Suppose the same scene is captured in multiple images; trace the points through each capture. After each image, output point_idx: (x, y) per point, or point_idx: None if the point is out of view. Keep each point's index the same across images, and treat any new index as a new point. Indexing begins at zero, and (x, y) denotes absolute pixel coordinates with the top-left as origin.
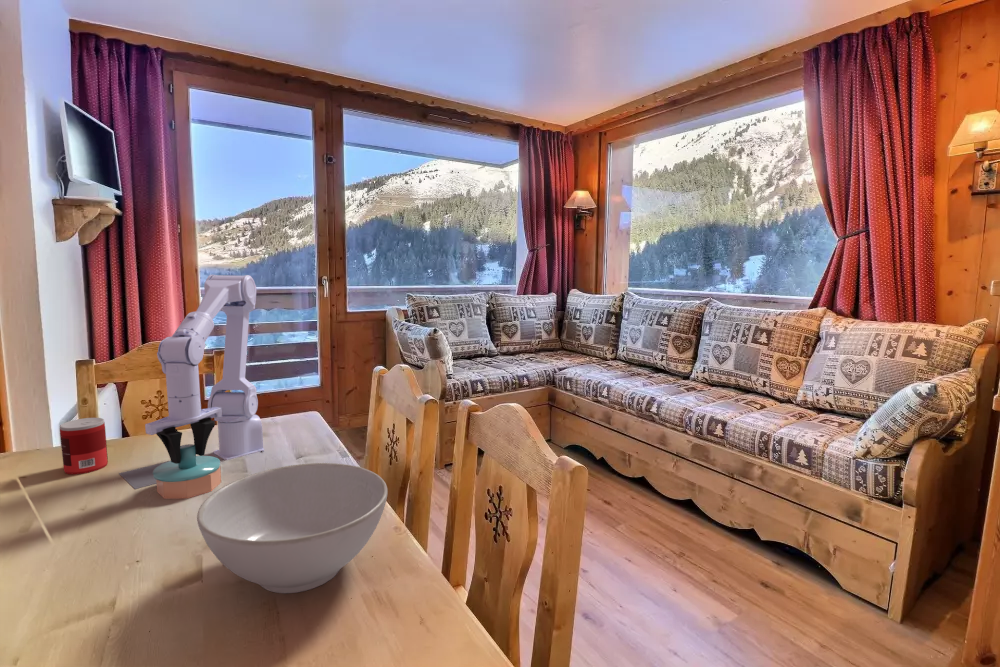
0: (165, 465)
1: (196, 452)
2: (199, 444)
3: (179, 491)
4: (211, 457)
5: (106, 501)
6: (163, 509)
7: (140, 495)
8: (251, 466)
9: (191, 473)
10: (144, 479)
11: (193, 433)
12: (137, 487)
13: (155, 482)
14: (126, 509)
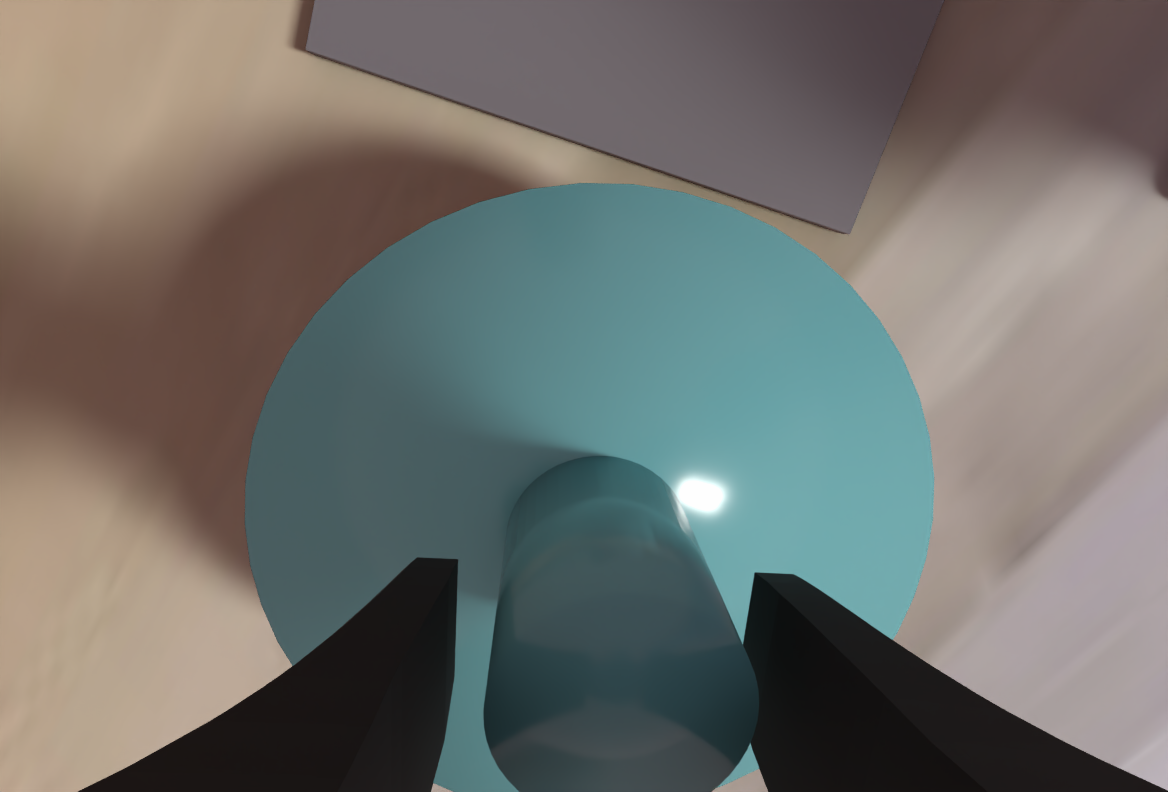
0: (492, 286)
1: (760, 608)
2: (806, 771)
3: None
4: (905, 534)
5: (41, 40)
6: (256, 614)
7: (289, 207)
8: (1122, 504)
9: (484, 740)
10: None
11: (940, 777)
12: (337, 35)
13: (501, 81)
14: (88, 377)
